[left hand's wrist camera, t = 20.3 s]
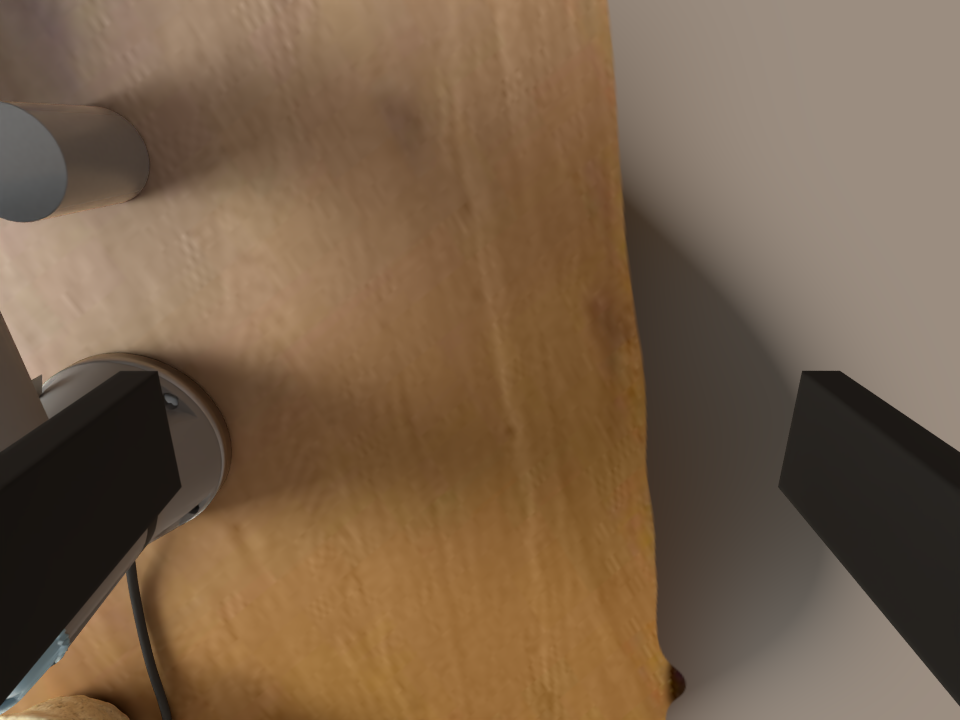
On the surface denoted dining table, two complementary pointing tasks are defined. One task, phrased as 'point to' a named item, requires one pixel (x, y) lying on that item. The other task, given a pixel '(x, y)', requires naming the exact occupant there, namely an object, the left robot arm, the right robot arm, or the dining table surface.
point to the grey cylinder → (66, 160)
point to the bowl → (70, 710)
